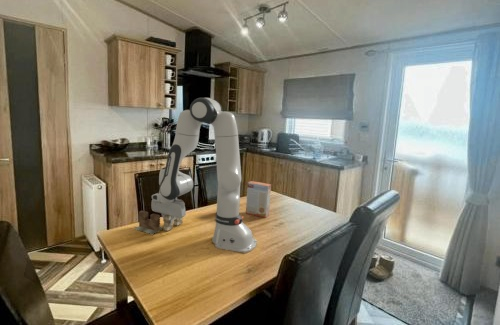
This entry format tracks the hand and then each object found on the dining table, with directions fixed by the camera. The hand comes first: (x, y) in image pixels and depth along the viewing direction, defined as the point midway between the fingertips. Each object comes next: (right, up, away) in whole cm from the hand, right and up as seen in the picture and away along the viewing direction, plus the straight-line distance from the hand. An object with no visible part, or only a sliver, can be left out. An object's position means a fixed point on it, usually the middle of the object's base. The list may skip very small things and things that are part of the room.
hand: (168, 222), depth 142 cm
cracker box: (+48, -2, +30) cm, 57 cm away
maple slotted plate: (+1, -3, +4) cm, 6 cm away
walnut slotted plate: (-10, -4, 0) cm, 11 cm away
